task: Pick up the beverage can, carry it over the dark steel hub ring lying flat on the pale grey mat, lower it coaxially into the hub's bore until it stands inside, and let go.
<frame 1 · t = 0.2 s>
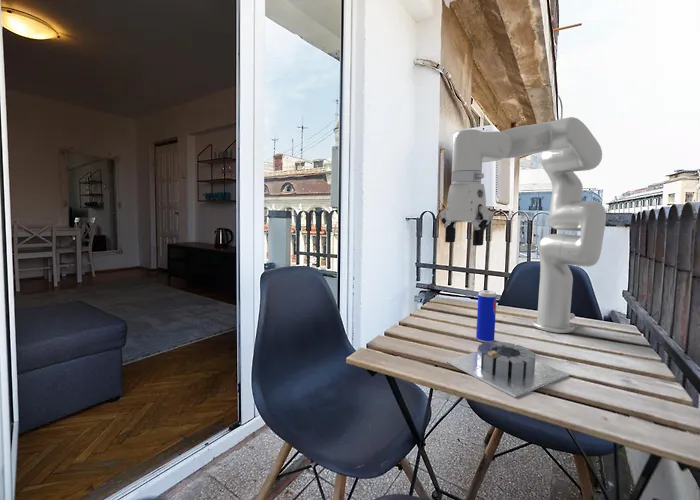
hand: (463, 243, 96), 30 cm above the table, fingers open, 9 cm apart
hub: (504, 369, 89), on the table
beverage can: (485, 340, 109), on the table
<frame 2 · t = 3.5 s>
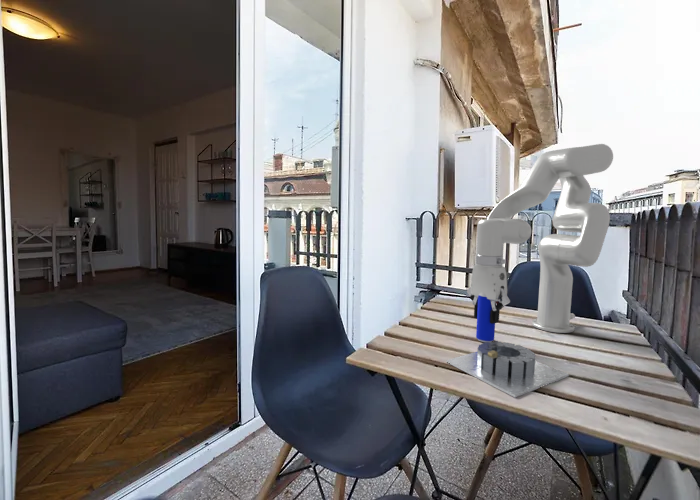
hand: (486, 319, 108), 6 cm above the table, fingers closed on beverage can, 5 cm apart
beverage can: (484, 340, 109), on the table, touching gripper
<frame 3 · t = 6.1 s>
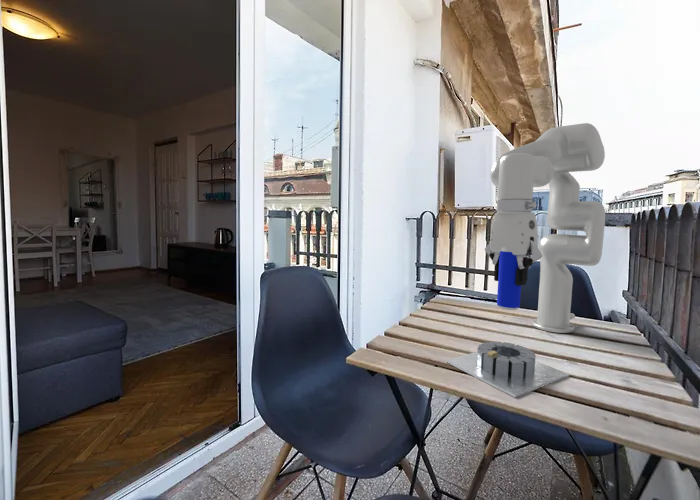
hand: (509, 281, 87), 22 cm above the table, fingers closed on beverage can, 5 cm apart
beverage can: (508, 308, 87), point 16 cm above the table, touching gripper
when the fingers open (8 cm above the table, at t = 8.9 s): beverage can drops 1 cm, resting on hub.
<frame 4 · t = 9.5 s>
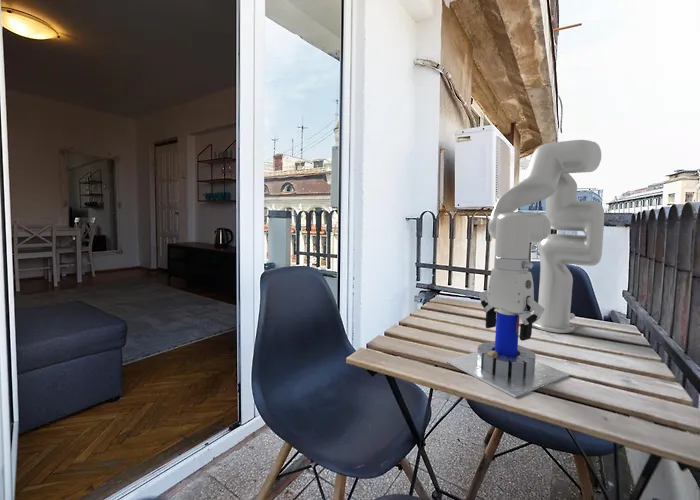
hand: (507, 333, 88), 9 cm above the table, fingers open, 9 cm apart
beverage can: (504, 367, 89), resting on hub
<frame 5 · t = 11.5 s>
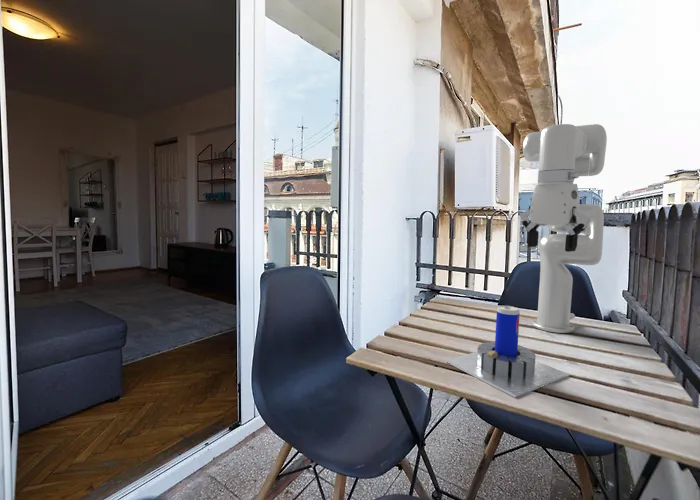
hand: (550, 248, 88), 30 cm above the table, fingers open, 9 cm apart
nothing on the table moved.
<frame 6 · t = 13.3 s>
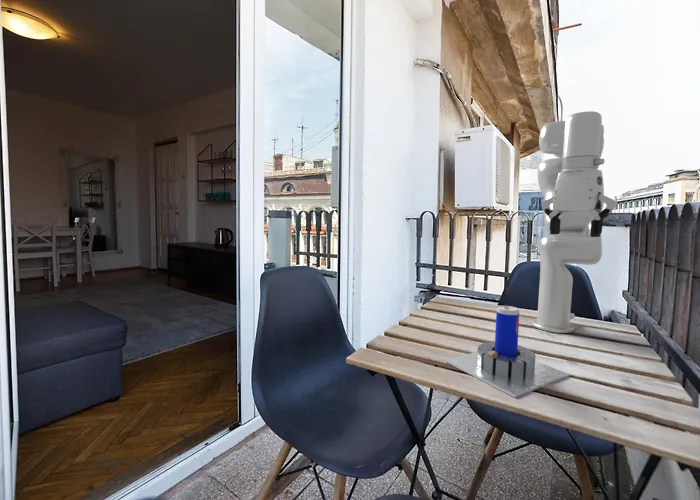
hand: (574, 235, 89), 33 cm above the table, fingers open, 9 cm apart
nothing on the table moved.
at the end: beverage can 0.1 cm off-centre on the hub, point 0.4 cm above the hub's base; beverage can tilted 0°; the gripper is holding nothing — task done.
